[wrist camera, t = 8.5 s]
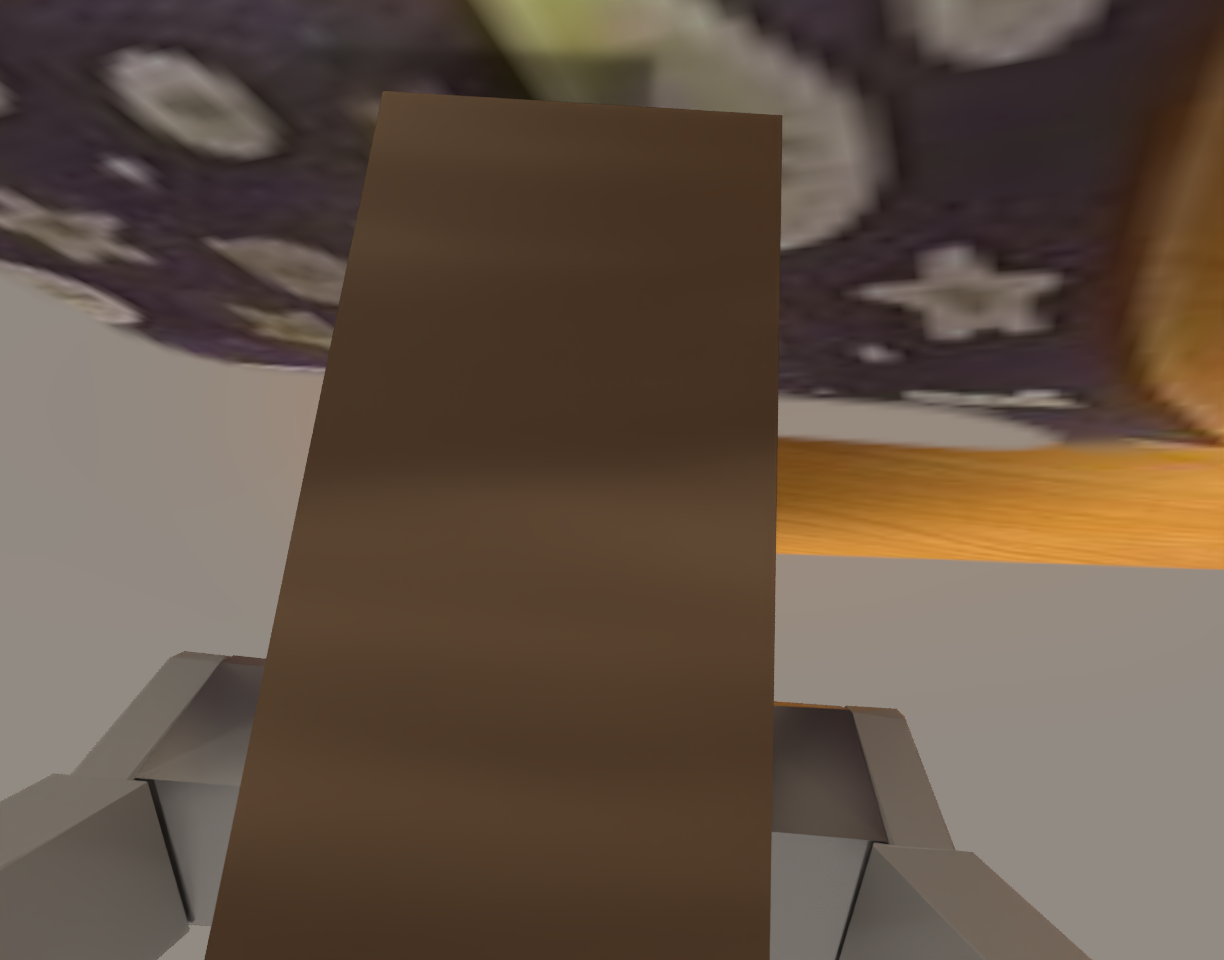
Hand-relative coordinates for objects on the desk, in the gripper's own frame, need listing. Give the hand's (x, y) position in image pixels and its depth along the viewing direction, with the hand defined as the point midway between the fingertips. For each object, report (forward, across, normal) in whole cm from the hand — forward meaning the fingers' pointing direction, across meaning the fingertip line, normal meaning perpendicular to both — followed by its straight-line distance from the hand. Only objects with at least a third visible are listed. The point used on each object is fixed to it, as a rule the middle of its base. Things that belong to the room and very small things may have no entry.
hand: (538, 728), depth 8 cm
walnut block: (+4, 0, +5) cm, 6 cm away
